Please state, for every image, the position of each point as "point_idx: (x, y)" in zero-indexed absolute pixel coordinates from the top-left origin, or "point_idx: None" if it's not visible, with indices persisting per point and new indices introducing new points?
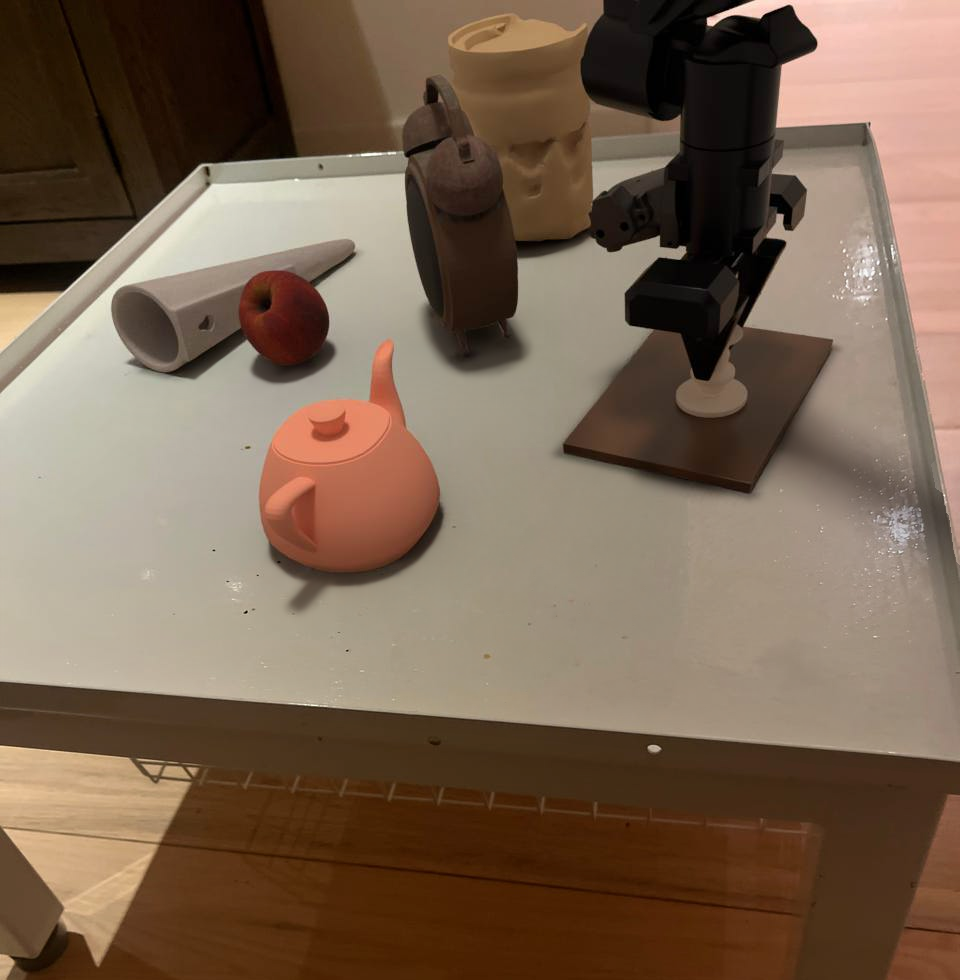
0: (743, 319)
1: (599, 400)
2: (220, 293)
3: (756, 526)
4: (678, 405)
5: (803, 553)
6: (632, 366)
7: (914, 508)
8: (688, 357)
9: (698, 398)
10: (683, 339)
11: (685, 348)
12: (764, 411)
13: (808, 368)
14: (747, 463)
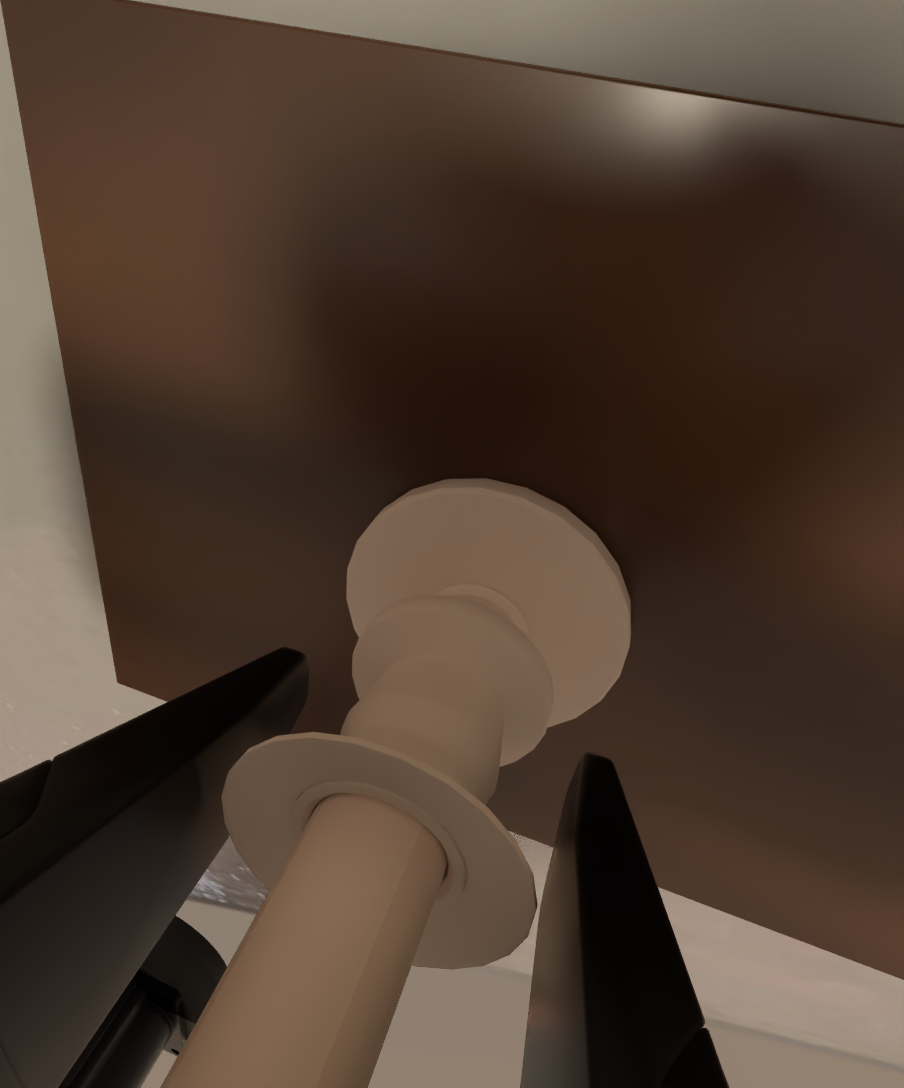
0: (531, 1002)
1: (387, 58)
2: None
3: (51, 666)
4: (405, 494)
5: (32, 730)
6: (811, 174)
7: (222, 896)
8: (166, 703)
9: (422, 579)
10: (19, 778)
11: (102, 734)
12: None
13: (724, 894)
14: (186, 683)
